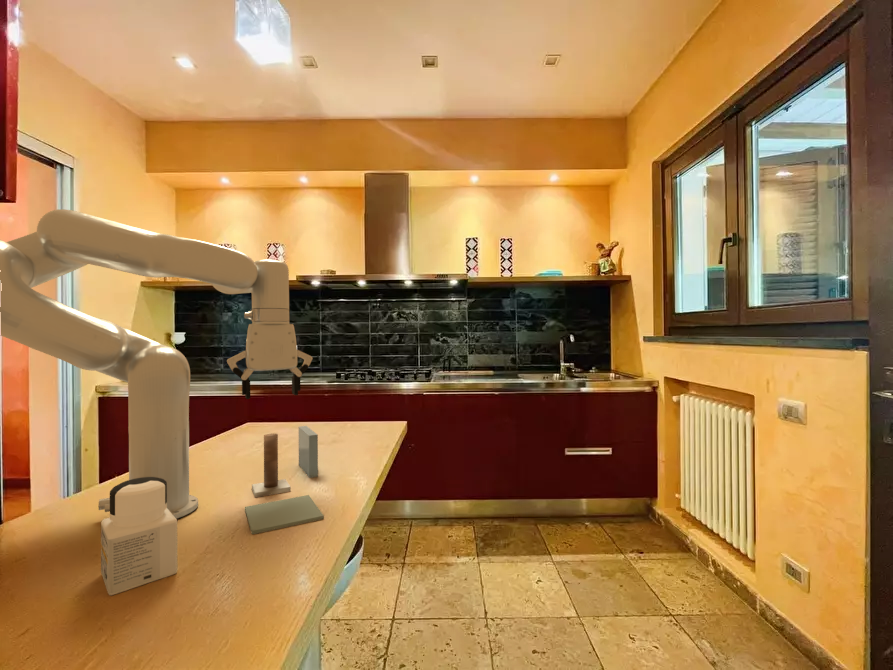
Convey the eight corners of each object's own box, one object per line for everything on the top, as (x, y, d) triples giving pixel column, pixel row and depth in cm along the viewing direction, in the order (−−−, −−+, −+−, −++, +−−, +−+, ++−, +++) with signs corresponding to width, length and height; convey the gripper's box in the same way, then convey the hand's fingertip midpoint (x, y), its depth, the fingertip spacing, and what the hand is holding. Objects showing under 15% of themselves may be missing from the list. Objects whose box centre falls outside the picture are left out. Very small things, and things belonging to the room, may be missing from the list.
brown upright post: (255, 497, 89) (254, 439, 89) (251, 489, 94) (251, 434, 94) (290, 491, 93) (290, 435, 93) (285, 483, 98) (285, 430, 98)
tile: (309, 478, 101) (309, 435, 101) (298, 465, 112) (298, 426, 112) (318, 476, 103) (318, 434, 103) (307, 463, 113) (307, 425, 113)
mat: (251, 534, 72) (251, 530, 72) (244, 509, 83) (244, 506, 83) (323, 518, 78) (323, 515, 78) (308, 497, 89) (308, 494, 89)
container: (100, 574, 60) (100, 481, 60) (165, 554, 66) (164, 469, 66) (108, 597, 55) (108, 495, 55) (178, 573, 60) (177, 481, 60)
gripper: (227, 316, 86) (228, 402, 86) (315, 317, 95) (316, 395, 95) (225, 318, 93) (226, 397, 93) (307, 318, 101) (308, 391, 101)
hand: (272, 396), depth 94 cm, fingers open, 9 cm apart
